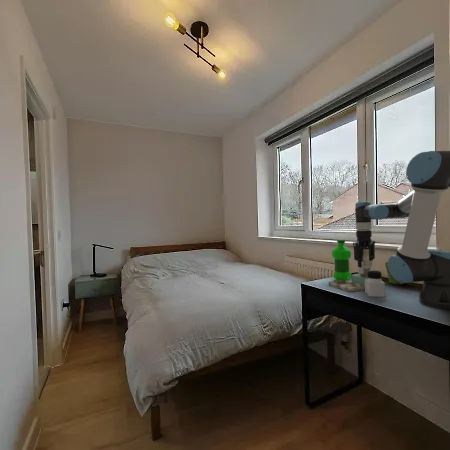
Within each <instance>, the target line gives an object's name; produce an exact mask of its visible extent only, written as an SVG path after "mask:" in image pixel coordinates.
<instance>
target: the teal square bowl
mask: <svg viewBox="0 0 450 450" xmlns="http://www.w3.org/2000/svg"><path fill="white" fill-rule="evenodd" d="M365 279H368V277H362V276H361V273H354V274H351V282H354V283H358V284H361V285H365Z"/></svg>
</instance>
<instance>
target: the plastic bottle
mask: <svg viewBox="0 0 450 450" xmlns="http://www.w3.org/2000/svg"><path fill="white" fill-rule="evenodd" d="M336 243H337V244H338V245H337V246H336V247H335V248H334V249H332V252H331V256H332V258H333V259H334V273H333V278H334V280H335V281H339V280H348V281H351V279H352V273H351V271H350V258H351V256H352V251H351V249H349V248H348V247H347V246H345V244H346V239H345V238H344V239H336Z"/></svg>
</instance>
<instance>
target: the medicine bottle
mask: <svg viewBox="0 0 450 450" xmlns="http://www.w3.org/2000/svg"><path fill="white" fill-rule="evenodd" d="M367 274H368V279H365V290H364V291H365V294H366V295H367V296H369V297H383V298H384V297H386V283H385V282H384V281H383V280H382V277H383V276H382V275H383V274H382V271H379V270H375V269H371V270H370V271H368V272H367Z"/></svg>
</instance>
